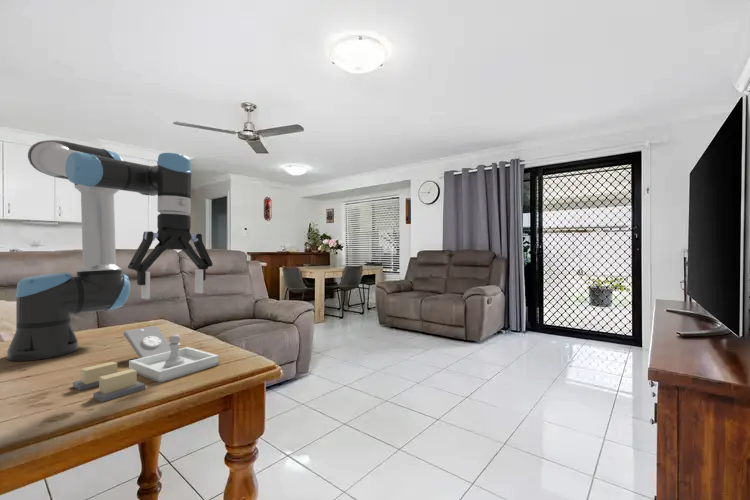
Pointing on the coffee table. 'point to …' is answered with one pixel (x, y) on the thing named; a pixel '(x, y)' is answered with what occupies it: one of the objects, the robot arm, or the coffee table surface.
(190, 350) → the parts tray
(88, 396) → the coffee table surface
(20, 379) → the coffee table surface
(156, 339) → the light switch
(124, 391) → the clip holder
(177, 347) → the chess piece
